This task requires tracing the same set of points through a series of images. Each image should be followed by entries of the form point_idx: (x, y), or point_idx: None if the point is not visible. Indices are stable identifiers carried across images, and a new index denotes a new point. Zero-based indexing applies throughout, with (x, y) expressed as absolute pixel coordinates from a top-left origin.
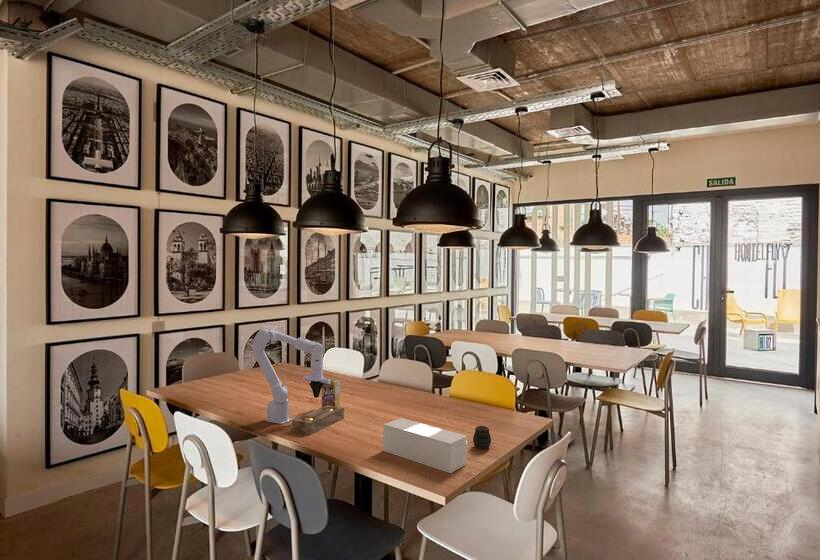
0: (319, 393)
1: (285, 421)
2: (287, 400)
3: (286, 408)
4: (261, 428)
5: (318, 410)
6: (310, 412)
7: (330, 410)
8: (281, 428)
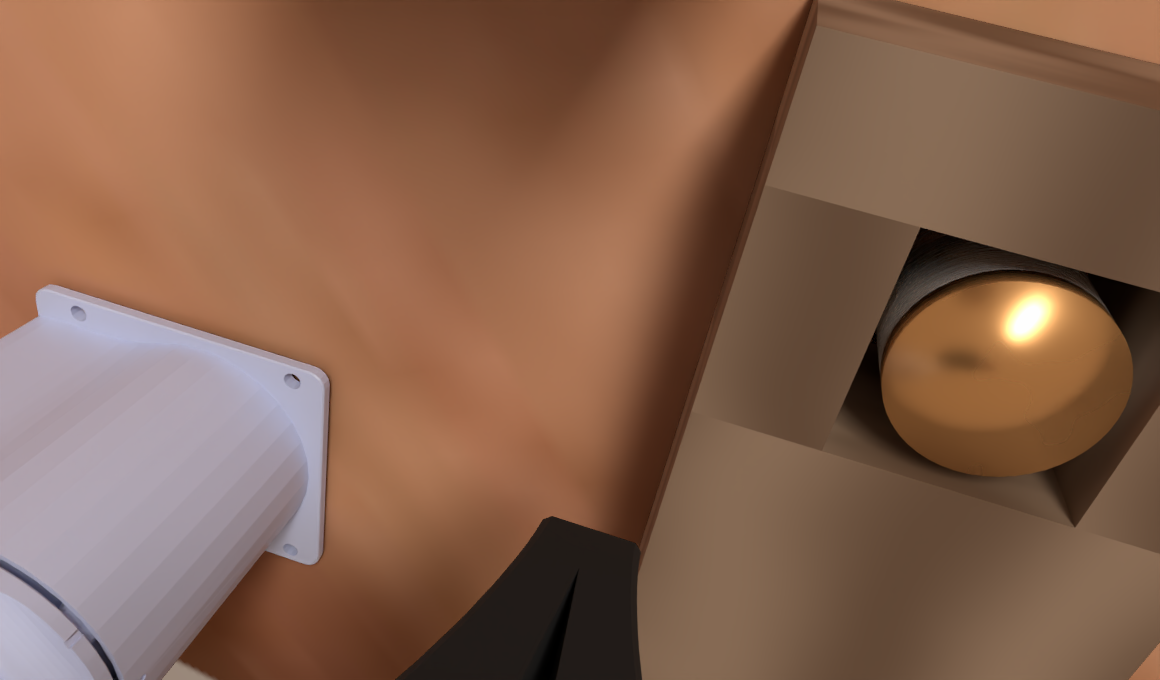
0: (636, 640)
1: (316, 507)
2: (56, 658)
3: (194, 621)
4: (220, 665)
5: (751, 500)
6: (641, 617)
7: (1055, 465)
8: (411, 665)
